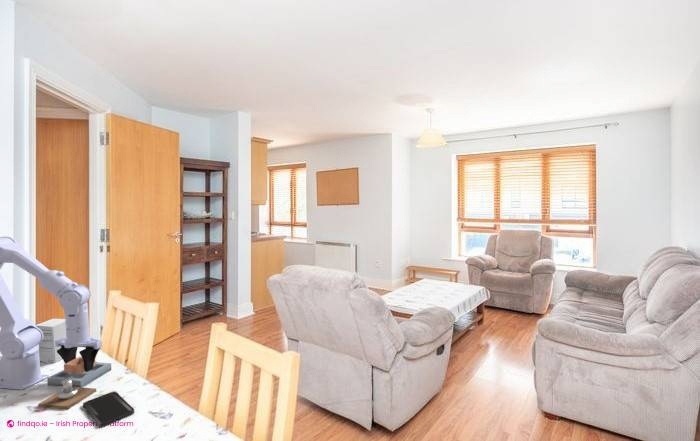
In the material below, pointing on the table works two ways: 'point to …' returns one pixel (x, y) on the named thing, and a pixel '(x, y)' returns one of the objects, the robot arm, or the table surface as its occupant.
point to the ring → (75, 366)
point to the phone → (108, 409)
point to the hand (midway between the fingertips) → (80, 369)
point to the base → (66, 404)
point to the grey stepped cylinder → (67, 390)
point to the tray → (80, 376)
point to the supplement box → (51, 339)
